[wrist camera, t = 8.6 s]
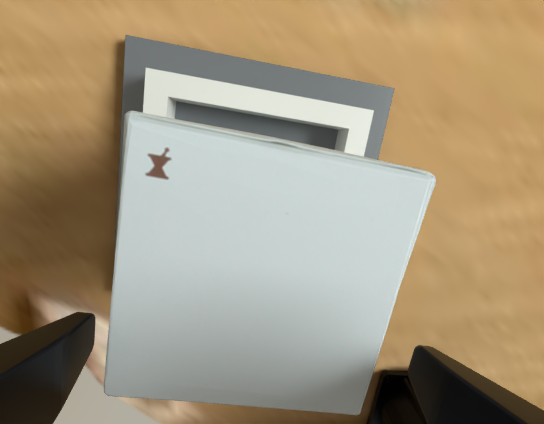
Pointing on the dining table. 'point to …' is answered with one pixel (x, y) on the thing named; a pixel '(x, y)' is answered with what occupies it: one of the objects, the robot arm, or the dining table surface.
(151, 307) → the supplement box
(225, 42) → the dining table surface
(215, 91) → the dock
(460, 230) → the dining table surface
